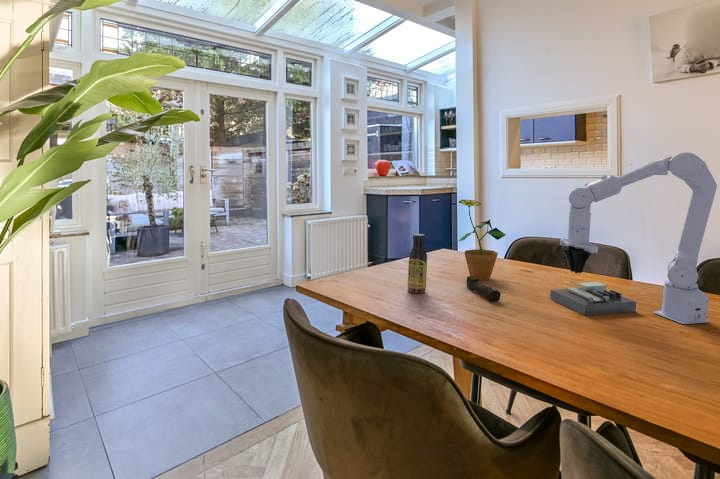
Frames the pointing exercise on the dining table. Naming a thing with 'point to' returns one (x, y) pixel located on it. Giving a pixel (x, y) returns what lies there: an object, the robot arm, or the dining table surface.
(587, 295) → the grey flat bar
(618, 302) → the heatsink block
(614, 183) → the robot arm
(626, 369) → the dining table surface
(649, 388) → the dining table surface
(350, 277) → the dining table surface
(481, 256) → the potted plant
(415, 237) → the sauce bottle
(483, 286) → the hand tool
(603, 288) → the catch
